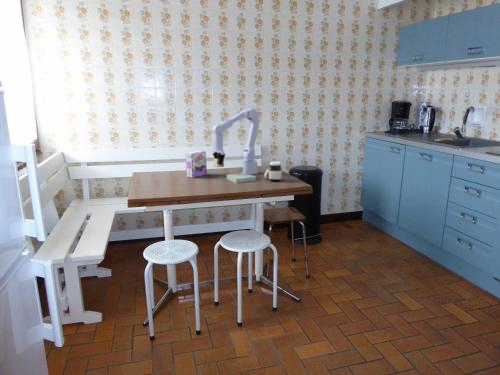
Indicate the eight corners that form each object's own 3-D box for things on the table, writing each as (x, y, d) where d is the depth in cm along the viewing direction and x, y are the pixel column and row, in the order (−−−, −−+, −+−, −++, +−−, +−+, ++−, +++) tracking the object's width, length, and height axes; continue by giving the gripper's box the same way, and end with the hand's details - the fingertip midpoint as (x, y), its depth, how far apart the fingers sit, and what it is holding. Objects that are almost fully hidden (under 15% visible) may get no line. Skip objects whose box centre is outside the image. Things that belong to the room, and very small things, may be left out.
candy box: (192, 178, 253) (191, 153, 249) (186, 177, 257) (185, 152, 253) (207, 174, 264) (206, 150, 260) (200, 173, 267) (200, 150, 263)
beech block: (221, 165, 260) (220, 158, 258) (224, 166, 255) (223, 159, 254) (214, 166, 257) (214, 158, 256) (217, 167, 253) (216, 159, 252)
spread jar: (280, 182, 239) (280, 163, 236) (262, 181, 241) (262, 163, 239) (282, 178, 251) (282, 160, 248) (265, 177, 253) (265, 160, 250)
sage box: (246, 177, 257) (246, 172, 256) (255, 181, 245) (255, 176, 244) (226, 179, 251) (226, 174, 250) (235, 183, 239) (235, 179, 238)
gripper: (208, 142, 257) (209, 163, 260) (217, 145, 245) (217, 166, 248) (218, 142, 260) (219, 162, 264) (227, 144, 248) (227, 165, 251)
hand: (219, 164), depth 256 cm, fingers closed on beech block, 5 cm apart
